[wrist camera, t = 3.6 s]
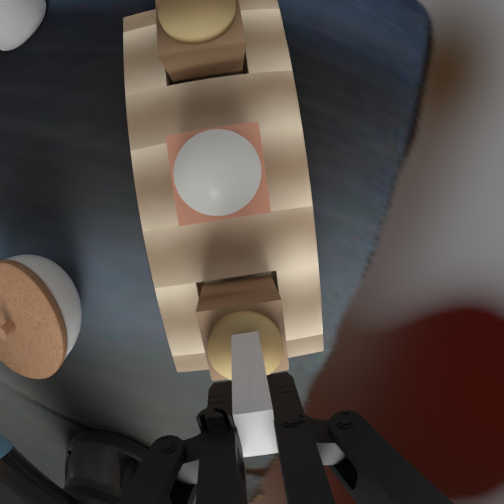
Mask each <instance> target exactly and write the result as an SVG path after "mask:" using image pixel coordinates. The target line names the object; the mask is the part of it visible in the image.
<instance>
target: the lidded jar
mask: <svg viewBox="0 0 504 504" xmlns="http://www.w3.org/2000/svg"><path fill="white" fill-rule="evenodd" d="M81 321H82V308H81V302H80V298H79V294H78V291H77V289H76V287H75V285H74V283H73V281H72V280H71V278H70V277H69V275H68V274H67V273H66V272H65V271H64V270H63V269H62V268H61V267H60V266H59V265H57V264H56V263H55V262H53V261H51V260H50V259H47V258H45V257H42V256H38V255H17V256H13V257H9V258H6V259H4V260H0V360H1V361H2V362H3V363H4V364H5V365H6V366H7V367H9V368H10V369H11V370H13V371H14V372H16V373H18V374H20V375H22V376H25V377H27V378H32V379H44V378H48V377H50V376H52V375H53V374H54V373H55V372H56V371H57V370H58V369H59V368H60V366H61V365H62V363H63V362H64V359H65V358H66V357H67V355H68V354H69V353H70V351H71V350H72V348H73V346H74V344H75V342H76V340H77V338H78V335H79V332H80V328H81Z"/></svg>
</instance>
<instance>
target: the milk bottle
mask: <svg viewBox="0 0 504 504" xmlns="http://www.w3.org/2000/svg"><path fill="white" fill-rule="evenodd" d="M45 13H46V2H45V0H0V50H2V51H9V50H13V49H15V48H17V47H19V46H21V45H22V44H23V43H25V42H26V41H27V40H28V39H29V38H30V37H31V36H32V35H33V34H34V32H35V31H36V30H37V29H38V27H39V25H40V24H41V22H42V20H43V18H44V16H45Z"/></svg>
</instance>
